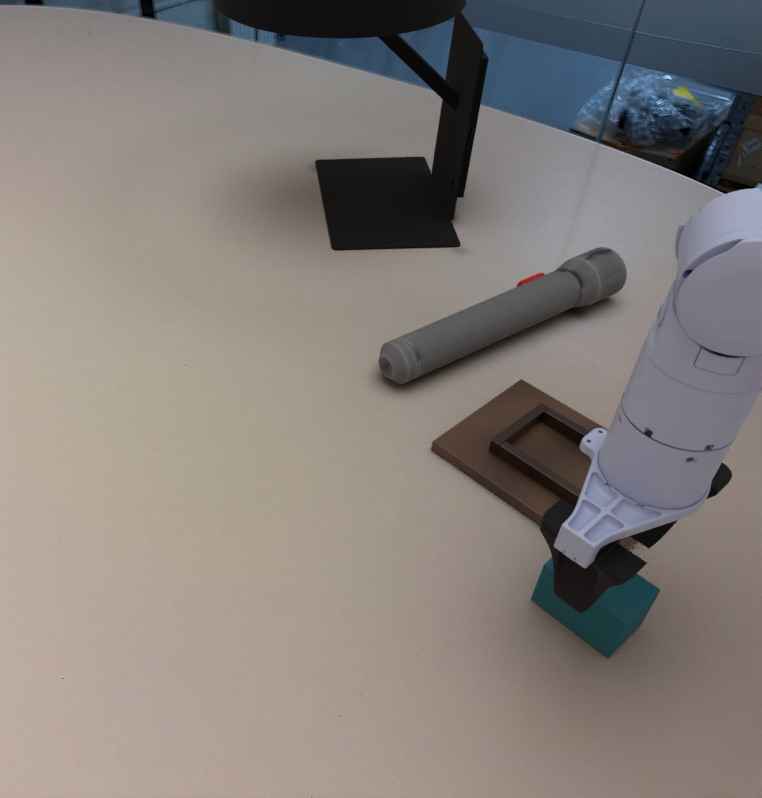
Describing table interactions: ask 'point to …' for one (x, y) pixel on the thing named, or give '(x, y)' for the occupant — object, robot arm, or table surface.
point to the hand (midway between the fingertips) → (604, 567)
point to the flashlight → (504, 314)
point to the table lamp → (394, 176)
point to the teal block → (600, 610)
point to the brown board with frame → (523, 450)
